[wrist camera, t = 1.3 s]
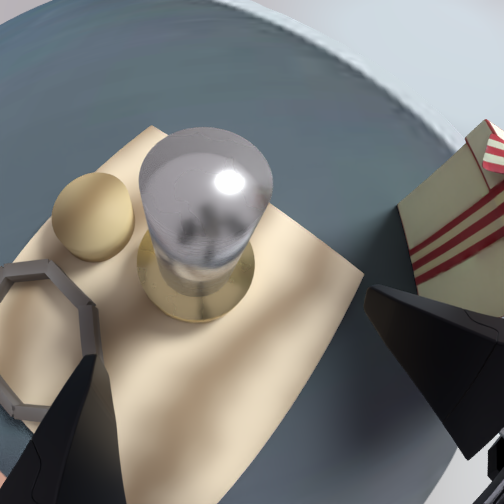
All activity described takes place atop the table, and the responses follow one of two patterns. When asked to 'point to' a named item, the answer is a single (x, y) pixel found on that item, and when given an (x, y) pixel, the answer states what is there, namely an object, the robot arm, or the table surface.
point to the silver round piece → (200, 221)
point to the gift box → (461, 226)
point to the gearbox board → (165, 336)
